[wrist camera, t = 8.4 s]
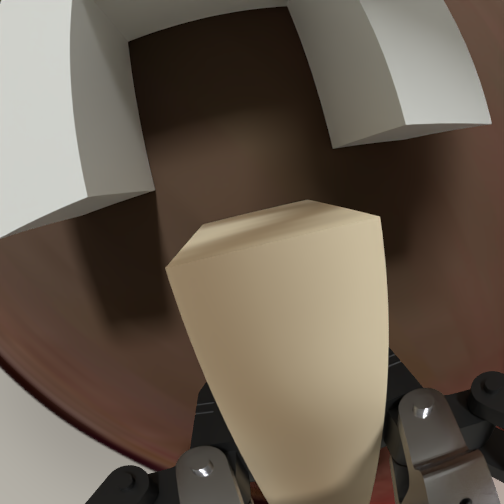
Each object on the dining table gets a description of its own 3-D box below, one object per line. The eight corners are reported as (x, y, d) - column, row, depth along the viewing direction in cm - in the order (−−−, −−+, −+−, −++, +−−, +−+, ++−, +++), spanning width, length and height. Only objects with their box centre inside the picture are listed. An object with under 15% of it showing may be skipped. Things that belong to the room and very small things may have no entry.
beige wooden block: (308, 199, 9) (379, 216, 4) (339, 436, 12) (367, 510, 7) (203, 224, 9) (165, 268, 4) (274, 453, 12) (286, 531, 7)
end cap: (340, -25, 7) (377, -85, 2) (404, 139, 9) (491, 123, 4) (62, 39, 7) (2, -3, 3) (82, 215, 9) (-4, 239, 4)
